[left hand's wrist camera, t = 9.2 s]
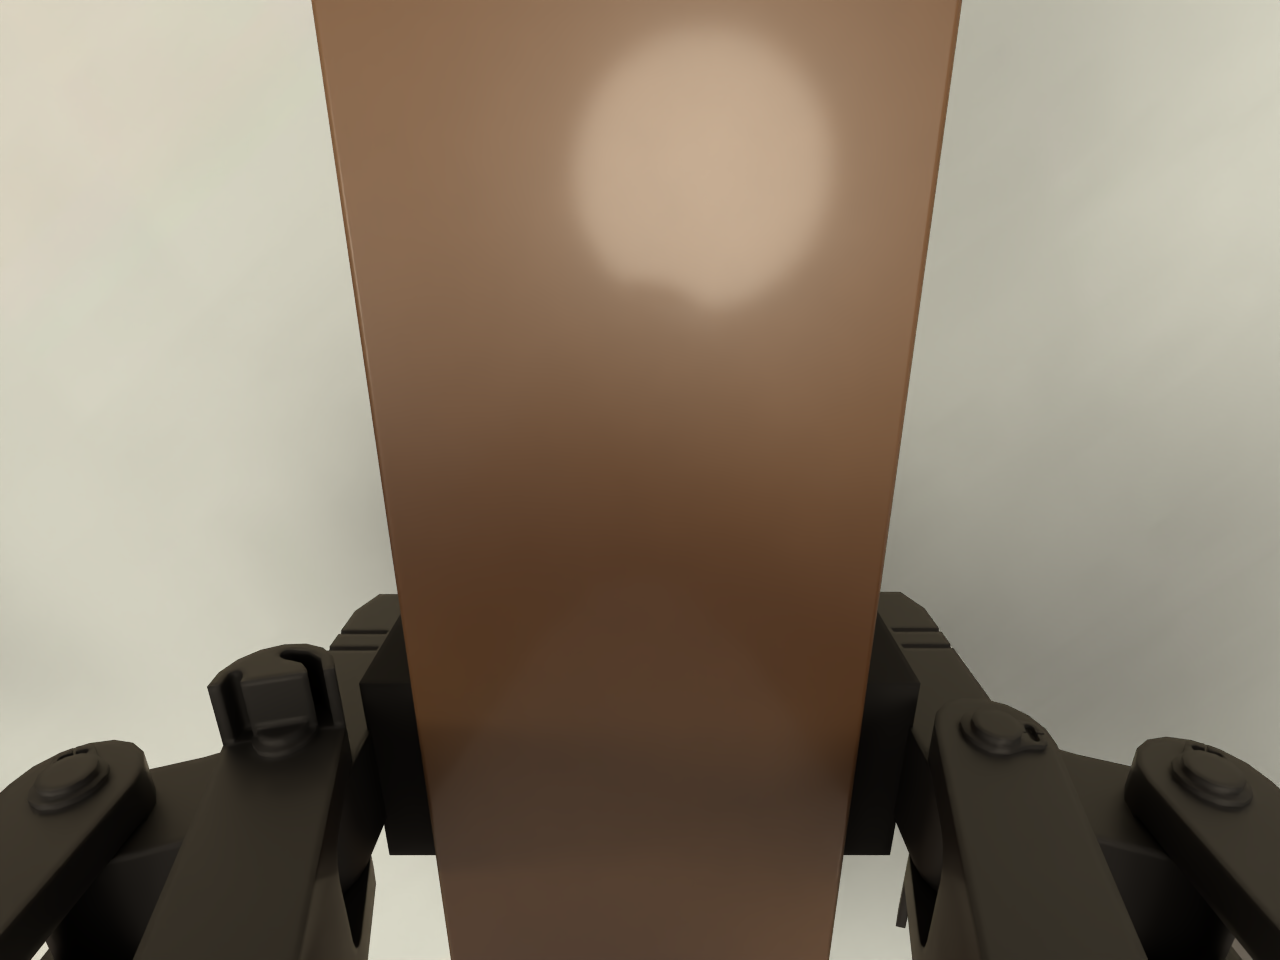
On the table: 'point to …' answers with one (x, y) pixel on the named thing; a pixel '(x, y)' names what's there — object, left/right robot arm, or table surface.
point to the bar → (638, 437)
